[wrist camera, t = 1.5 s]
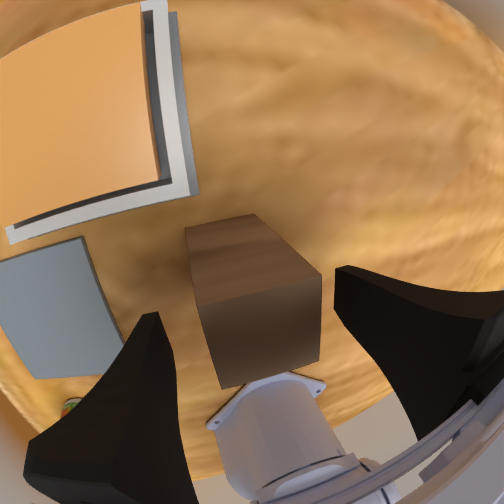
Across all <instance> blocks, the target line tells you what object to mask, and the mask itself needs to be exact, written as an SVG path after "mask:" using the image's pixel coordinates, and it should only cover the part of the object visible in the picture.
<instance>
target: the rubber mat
mask: <svg viewBox="0 0 504 504" xmlns="http://www.w3.org/2000/svg"><path fill="white" fill-rule="evenodd" d="M0 325H1V327H2V329H3V331H4V332H5V334H6V336H7V338H8V339H9V341H10V343H11V344H12V346H13V348H14V349H15V351H16V352H17V354H18V355H19V357H20V358H21V360H22V361H23V363H24V364H25V366H26V367H27V369H28V370H29V372H30V373H31V374H32V376H33V377H34V378H35V379H49V378H65V377H77V376H88V375H97V374H105V372H106V371H107V370H108V368H109V367H110V365H111V364H112V363H113V361H114V360H115V358H116V357H117V355H118V354H119V352H120V351H121V349H122V348H123V346H124V344H125V341H124V339H123V337H122V335H121V333H120V331H119V329H118V327H117V324H116V322H115V320H114V318H113V315H112V313H111V311H110V308H109V306H108V304H107V301H106V299H105V296H104V294H103V291H102V289H101V286H100V283H99V281H98V278H97V275H96V273H95V270H94V267H93V264H92V261H91V258H90V255H89V252H88V249H87V246H86V243H85V240H84V236H80V237H77V238H73V239H70V240H66V241H63V242H59V243H56V244H52V245H49V246H46V247H42V248H39V249H36V250H33V251H30V252H26V253H23V254H20V255H17V256H14V257H11V258H8V259H5V260H2V261H0Z"/></svg>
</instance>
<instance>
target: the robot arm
mask: <svg viewBox="0 0 504 504" xmlns="http://www.w3.org/2000/svg"><path fill="white" fill-rule="evenodd" d="M334 310H335V312H336V313H337V315H338V317H339V318H340V320H341V321H342V323H343V324H344V326H345V327H346V328H347V330H348V331H349V332H350V333H351V334H352V335H353V337H354V338H355V339H356V340H357V341H358V342H359V343H360V345H361V346H362V347H363V348H364V349H365V350H366V351H367V353H368V354H369V355H370V356H371V357H372V358H373V360H374V361H375V362H376V363H377V365H378V366H379V367H380V369H381V370H382V372H383V373H384V375H385V376H386V378H387V380H388V381H389V383H390V384H391V386H392V388H393V389H394V391H395V392H396V394H397V396H398V398H399V400H400V401H401V404H402V406H403V408H404V410H405V412H406V414H407V416H408V418H409V420H410V422H411V425H412V427H413V429H414V432H415V434H416V437H417V439H418V442H417V443H416V444H414V445H413V446H411V447H410V448H408V449H407V450H405V451H404V452H402V453H401V454H399V455H397V456H396V457H394V458H392V459H391V460H389V461H388V462H386V463H384V464H382V465H381V464H379V463H378V462H377V461H374V460H370V459H368V458H361V459H359V460H358V459H357V458H356V456H355V454H354V453H350V454H348V455H347V453H346V452H345V450H344V448H343V447H342V445H341V443H340V442H339V440H338V439H337V437H336V435H335V434H334V432H333V430H332V428H331V427H330V425H329V423H328V422H327V420H326V418H325V416H324V415H323V413H322V411H321V410H320V408H319V406H318V404H317V403H316V401H315V398H316V397H317V396H318V395H319V394H320V393H321V392H322V391H323V390H324V389H325V388H326V384H325V382H322V381H318V380H315V379H311V378H308V377H304V376H301V375H297V374H294V373H291V372H285V373H282V374H278V375H275V376H272V377H268V378H265V379H261V380H258V381H254V382H251V383H247V384H246V385H245V386H244V387H243V388H242V389H241V390H240V391H239V392H238V394H237V395H236V396H235V397H234V398H233V399H232V400H231V401H230V402H229V403H228V404H227V405H226V406H225V407H223V408H222V409H221V410H220V411H219V412H218V413H217V414H216V415H215V416H214V417H213V418H212V419H211V420H210V421H209V422H208V423H207V424H206V428H207V429H209V430H213V431H215V435H216V439H217V443H218V447H219V451H220V455H221V459H222V463H223V467H224V470H225V474H226V477H227V480H228V482H229V483H230V485H231V486H232V488H233V489H234V490H235V491H236V492H237V493H238V494H239V495H241V496H242V497H244V498H246V499H248V500H252V501H251V502H250V504H504V290H502V291H491V292H458V291H448V290H440V289H434V288H429V287H424V286H419V285H415V284H411V283H407V282H404V281H400V280H397V279H394V278H390V277H387V276H384V275H381V274H378V273H375V272H371V271H368V270H365V269H362V268H358V267H354V266H350V265H346V266H342V267H339V268H335V291H334ZM452 438H453V439H452ZM451 439H452V443H451V444H450V445H449V446H447V447H446V448H445V449H444V450H443V451H442V452H441V453H440V454H439V455H438V456H437V457H436V459H434V460H433V461H432V462H431V463H430V464H429V465H428V466H427V467H426V468H424V469H423V470H422V471H421V472H420V473H419V476H420V477H421V479H422V480H423V482H424V484H423V485H421V486H420V487H418V488H417V489H416V490H414V491H413V492H412V493H410V494H408V495H407V496H405V497H404V498H402V499H401V496H400V493H399V490H398V488H397V486H396V484H395V482H394V480H396V479H398V478H399V477H401V476H402V475H404V474H405V473H407V472H409V471H410V470H411V469H413V468H414V467H416V466H417V465H419V464H420V463H421V462H423V461H424V460H425V459H427V458H428V457H430V456H431V455H432V454H433V453H435V452H436V451H437V450H439V449H440V448H441V447H442V446H443V445H445V444H446V443H447V442H448V441H450V440H451ZM23 477H24V478H25V480H26V482H28V484H29V485H31V486H32V487H33V488H35V489H36V490H38V491H39V492H41V493H43V494H44V495H46V496H48V497H50V498H51V499H53V500H55V501H57V502H58V503H60V504H199V502H198V500H197V496H196V494H195V490H194V487H193V484H192V481H191V477H190V474H189V470H188V466H187V462H186V458H185V454H184V450H183V445H182V440H181V435H180V429H179V421H178V404H177V379H176V368H175V361H174V355H173V350H172V348H171V345H170V342H169V340H168V337H167V335H166V332H165V330H164V327H163V324H162V321H161V319H160V316H159V313H158V311H157V312H152V313H147V314H143V315H142V316H141V318H140V320H139V321H138V323H137V325H136V326H135V328H134V330H133V331H132V333H131V335H130V336H129V338H128V340H127V341H126V343H125V344H124V346H123V348H122V349H121V351H120V352H119V354H118V355H117V357H116V358H115V360H114V361H113V363H112V364H111V365H110V367H109V368H108V370H107V371H106V372H105V374H104V375H103V376H102V377H101V379H100V380H99V381H98V382H97V383H96V385H95V386H94V387H93V388H92V389H91V390H90V391H89V392H88V393H87V394H86V395H85V397H84V398H83V399H82V400H81V401H80V402H79V403H78V404H77V405H76V406H75V407H74V408H73V409H71V410H70V411H69V412H68V413H67V414H66V415H65V416H63V417H62V418H61V419H60V420H59V421H57V422H56V423H55V424H53V425H52V426H51V427H49V428H48V429H47V430H45V431H44V432H42V433H41V434H39V435H38V436H36V437H35V438H33V439H32V440H30V441H29V443H28V449H27V454H26V459H25V465H24V472H23ZM29 504H34V503H29Z"/></svg>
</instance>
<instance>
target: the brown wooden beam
mask: <svg viewBox="0 0 504 504" xmlns="http://www.w3.org/2000/svg"><path fill="white" fill-rule="evenodd" d="M185 232H186V240H187V247H188V254H189V261H190V268H191V275H192V281H193V288H194V294H195V300H196V305H197V309H198V313H199V317H200V320H201V324H202V327H203V331H204V334H205V338H206V341H207V345H208V348H209V351H210V355H211V358H212V361H213V364H214V367H215V371H216V374H217V377H218V380H219V383H220V386H221V389H222V390H223V389H227V388H231V387H235V386H239V385H243V384H247V383H251V382H254V381H258V380H261V379H265V378H268V377H272V376H275V375H278V374H282V373H285V372H288V371H291V370H294V369H297V368H300V367H303V366H306V365H309V364H312V363H314V362H317V361H319V354H320V335H321V306H322V275H321V274H320V273H319V272H318V271H317V270H316V269H315V268H314V267H313V266H312V265H311V264H309V263H308V262H307V261H306V260H305V259H304V258H303V257H302V256H301V255H300V254H298V253H297V252H296V251H295V250H294V249H293V248H292V247H291V246H290V245H289V244H287V243H286V242H285V241H284V240H283V239H282V238H281V237H280V236H279V235H277V234H276V233H275V232H274V231H273V230H272V229H271V228H270V227H268V226H267V225H266V224H265V223H264V222H263V221H262V220H261V219H259V218H258V217H257V216H256V215H255V214H251V215H246V216H240V217H235V218H230V219H225V220H220V221H215V222H210V223H205V224H201V225H196V226H191V227H186V228H185Z"/></svg>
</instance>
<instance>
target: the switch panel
mask: <svg viewBox="0 0 504 504" xmlns="http://www.w3.org/2000/svg"><path fill="white" fill-rule="evenodd" d="M138 3H139V2H138ZM134 4H135V3H134ZM140 4H141V9H142V14H143V18H144V23H145V43H146V58H147V70H148V81H149V91H150V100H151V108H152V116H153V123H154V131H155V137H156V144H157V151H158V157H159V163H160V169H161V174H162V175H161V177H160V178H159V180H158V181H153V182H149V183H145V184H140V185H136V186H132V187H128V188H124V189H121V190H117V191H113V192H109V193H106V194H102V195H99V196H95V197H92V198H88V199H85V200H82V201H78V202H75V203H72V204H69V205H66V206H63V207H59V208H56V209H54V210H51V211H48V212H45V213H42V214H39V215H36V216H34V217H31V218H28V219H26V220H23V221H20V222H18V223H15V224H13V225H10V226H8V227H5V230H6V233H7V236H8V240H9V243H10V245H11V244H14V243H17V242H20V241H23V240H25V239H28V240H29V239H31V238H34V237H38V236H41V235H44V234H47V233H50V232H53V231H56V230H60V229H63V228H66V227H69V226H73V225H76V224H80V223H83V222H87V221H90V220H94V219H98V218H101V217H105V216H109V215H113V214H116V213H120V212H124V211H128V210H132V209H136V208H141V207H145V206H149V205H153V204H158V203H162V202H167V201H171V200H176V199H181V198H186V197H191V196H196V195H200V194H199V188H198V182H197V176H196V169H195V163H194V156H193V150H192V143H191V136H190V129H189V121H188V114H187V106H186V98H185V90H184V81H183V72H182V63H181V53H180V43H179V31H178V19H177V11H175V12H168V6H167V0H148V1H143V2H140ZM129 5H130V4H129ZM125 6H126V5H125ZM121 7H122V6H121ZM114 9H115V8H114ZM110 10H111V9H110ZM107 11H108V10H107ZM100 13H101V12H100ZM97 14H98V13H97ZM94 15H95V14H94ZM91 16H92V15H91ZM88 17H89V16H88ZM85 18H86V17H85ZM80 20H81V19H80ZM77 21H78V20H77ZM72 23H73V22H72ZM67 25H68V24H67ZM62 27H63V26H62ZM60 28H61V27H60ZM55 30H56V29H55ZM53 31H54V30H53ZM51 32H52V31H51ZM42 36H43V35H42ZM40 37H41V36H40ZM38 38H39V37H38ZM36 39H37V38H36ZM34 40H35V39H34ZM23 46H24V45H23ZM21 47H22V46H21ZM16 50H17V49H16ZM14 51H15V50H14ZM9 54H10V53H9ZM6 56H7V55H6ZM1 59H2V58H1Z"/></svg>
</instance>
